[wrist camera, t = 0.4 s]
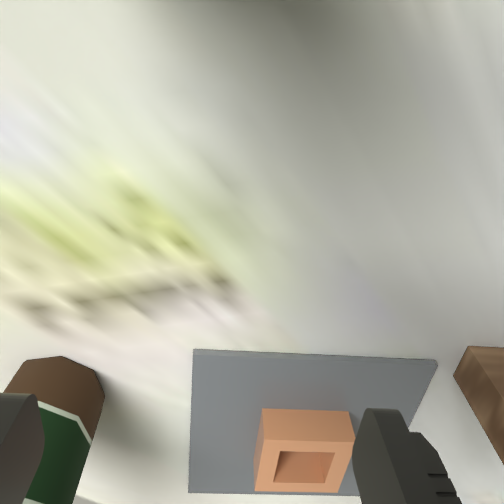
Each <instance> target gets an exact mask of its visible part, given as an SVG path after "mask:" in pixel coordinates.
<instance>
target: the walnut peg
mask: <svg viewBox="0 0 504 504" xmlns="http://www.w3.org/2000/svg"><path fill="white" fill-rule="evenodd" d="M453 376H454V378H455V380H456V382H457V383H458V385H459V387H460V389H461V390H462V392H463V394H464V396H465V397H466V399H467V401H468V403H469V405H470V406H471V408H472V410H473V412H474V413H475V415H476V417H477V419H478V420H479V422H480V424H481V426H482V427H483V429H484V431H485V433H486V434H487V436H488V438H489V440H490V442H491V443H492V445H493V447H494V449H495V450H496V452H497V454H498V456H499V457H500V459H501V461H502V463H503V464H504V348H499V347H479V346H468V347H467V349H466V351H465V353H464V355H463V357H462V359H461V361H460V363H459V365H458V367H457V369H456V371H455V373H454V375H453Z"/></svg>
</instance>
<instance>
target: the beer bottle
mask: <svg viewBox="0 0 504 504" xmlns="http://www.w3.org/2000/svg"><path fill="white" fill-rule="evenodd" d="M3 393H21V394H35V395H36V397H37V401H38V406H39V411H40V416H41V420H42V425H43V430H44V436H45V444H44V451H43V455H42V459H41V462H40V464H39V467H38V469H37V471H36V473H35V476H34V478H33V480H32V483H31V485H30V487H29V490H28V492H27V494H26V496H25V499H24V501H23V503H22V504H72V503H73V500H74V497H75V493H76V490H77V487H78V484H79V481H80V478H81V474H82V471H83V468H84V465H85V462H86V459H87V456H88V452H89V449H90V446H91V443H92V440H93V437H94V434H95V430H96V427H97V424H98V421H99V418H100V415H101V410H102V406H103V402H104V398H105V395H104V392H103V390H102V387H101V385H100V383H99V381H98V379H97V377H96V375H95V373H94V371H93V370H92V369H90V368H87V367H85V366H83V365H80V364H78V363H76V362H74V361H71V360H69V359H67V358H64V357H62V356H58V357H49V358H41V359H32V360H27V361H25V362H23V364H22V365H21V367H20V368H19V370H18V371H17V373H16V374H15V376H14V377H13V379H12V380H11V382H10V383H9V385H8V386H7V388H6V389H5V391H4V392H3Z"/></svg>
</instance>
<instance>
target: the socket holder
mask: <svg viewBox="0 0 504 504" xmlns="http://www.w3.org/2000/svg"><path fill="white" fill-rule="evenodd" d="M437 366H438V365H437V363H436V361H435V360H420V359H398V358H377V357H355V356H333V355H312V354H290V353H268V352H247V351H225V350H203V349H194V350H193V367H192V397H191V426H190V456H189V485H188V493H220V494H276V495H331V496H360V494H359V490H358V487H357V483H356V479H355V476H354V472H353V465H352V449H353V444H354V441H355V438H356V435H357V432H358V429H359V426H360V423H361V420H362V417H363V414H364V412H365V410H366V409H367V408H386V409H397V410H399V411H400V413H401V414H402V416H403V418H404V421H405V423H406V425H407V427H409V425H410V423H411V421H412V419H413V417H414V415H415V413H416V410H417V408H418V406H419V404H420V402H421V400H422V398H423V396H424V394H425V392H426V389H427V387H428V385H429V383H430V381H431V379H432V377H433V375H434V373H435V370H436V368H437Z"/></svg>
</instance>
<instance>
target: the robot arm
mask: <svg viewBox="0 0 504 504" xmlns="http://www.w3.org/2000/svg"><path fill="white" fill-rule="evenodd" d="M44 444H45V436H44V430H43V425H42V420H41V416H40V411H39V406H38V401H37V397H36V395H35V394H21V393H0V504H22V503H23V501H24V499H25V496H26V494H27V492H28V490H29V487H30V485H31V483H32V480H33V478H34V476H35V473H36V471H37V469H38V467H39V464H40V462H41V459H42V455H43V451H44ZM352 465H353V472H354V476H355V479H356V483H357V487H358V490H359V494H360V498H361V501H362V504H462V503H461V501H460V498H459V497H457V495H456V493H457V492H456V490H455V488H454V486H453V484H452V482H451V480H450V478H448V473H447V471H446V469H445V467H444V465H443V463H442V461H441V459H440V457H439V455H438V452H437V451H436V450H435V449H434V448H433V447H432V445H431V444H430V443H429V442H428V441H427V440H426V439H425V438H424V436H423V435H422V434H421V433H418V432H409V430H408V427H407V425H406V423H405V421H404V418H403V416H402V414H401V413H400V411H399V410H397V409H386V408H367V409H366V410H365V412H364V414H363V417H362V420H361V423H360V426H359V429H358V432H357V435H356V438H355V441H354V444H353V449H352Z"/></svg>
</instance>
